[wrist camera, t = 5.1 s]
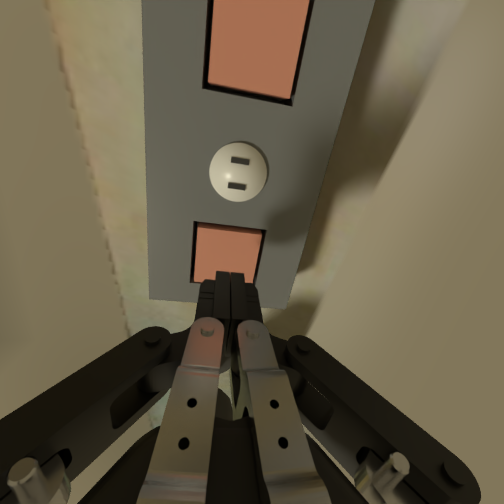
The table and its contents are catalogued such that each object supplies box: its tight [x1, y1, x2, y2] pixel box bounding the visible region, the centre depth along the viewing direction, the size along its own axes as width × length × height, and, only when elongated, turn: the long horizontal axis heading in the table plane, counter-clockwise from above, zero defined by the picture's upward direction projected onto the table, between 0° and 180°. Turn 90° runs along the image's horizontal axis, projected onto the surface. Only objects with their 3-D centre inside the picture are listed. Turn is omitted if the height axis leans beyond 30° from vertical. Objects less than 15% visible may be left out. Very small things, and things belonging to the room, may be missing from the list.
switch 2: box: [194, 222, 262, 283], centre depth 18 cm, size 4×4×2 cm
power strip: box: [142, 0, 375, 309], centre depth 15 cm, size 24×10×4 cm, turn 171°
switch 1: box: [208, 0, 309, 101], centre depth 13 cm, size 4×4×2 cm
